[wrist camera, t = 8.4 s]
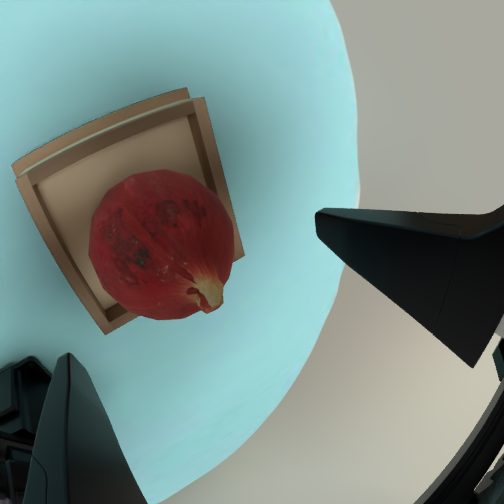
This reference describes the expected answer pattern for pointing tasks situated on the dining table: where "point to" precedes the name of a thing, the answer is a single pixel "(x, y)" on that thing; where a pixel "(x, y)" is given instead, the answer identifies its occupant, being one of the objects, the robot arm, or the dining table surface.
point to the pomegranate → (162, 245)
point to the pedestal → (114, 181)
